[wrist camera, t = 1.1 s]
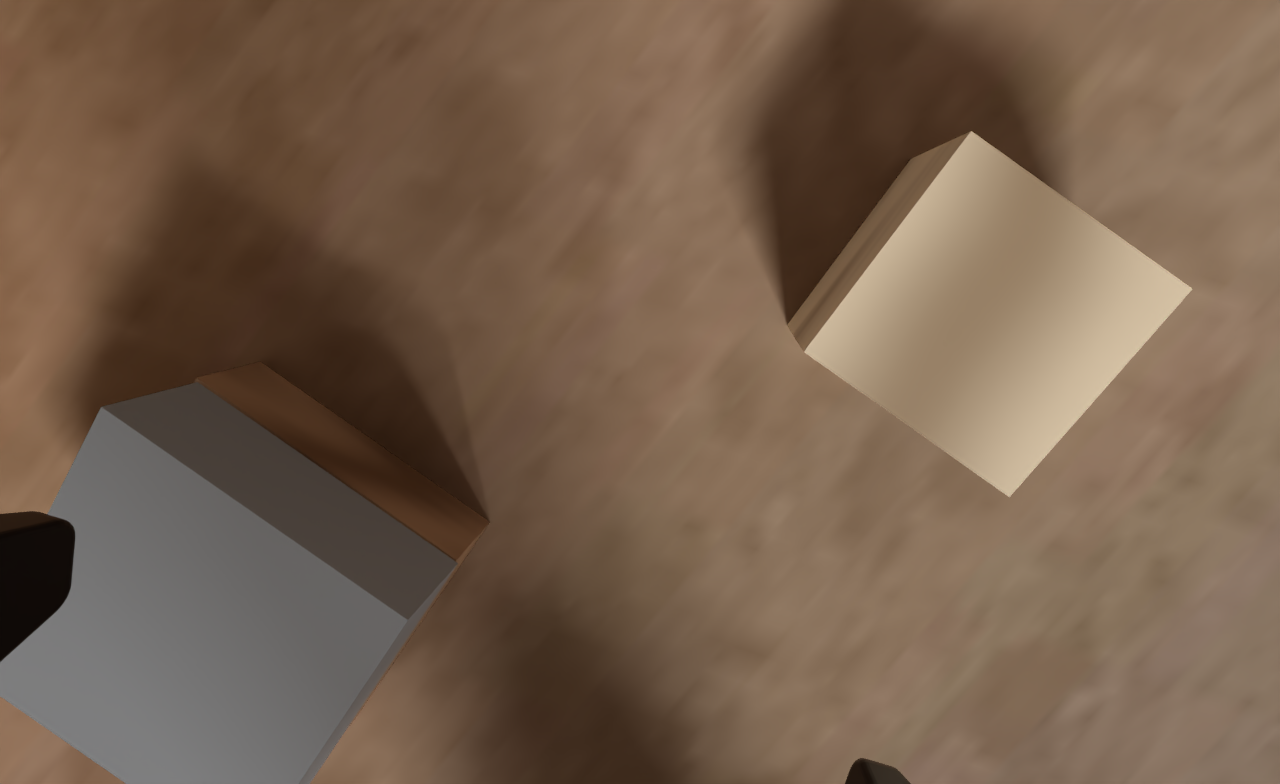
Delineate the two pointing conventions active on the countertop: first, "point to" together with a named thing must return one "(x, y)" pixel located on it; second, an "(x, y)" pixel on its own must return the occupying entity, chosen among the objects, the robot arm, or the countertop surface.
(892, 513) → the countertop surface
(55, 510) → the slate block
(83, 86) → the countertop surface
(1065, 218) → the birch cube
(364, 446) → the walnut block
